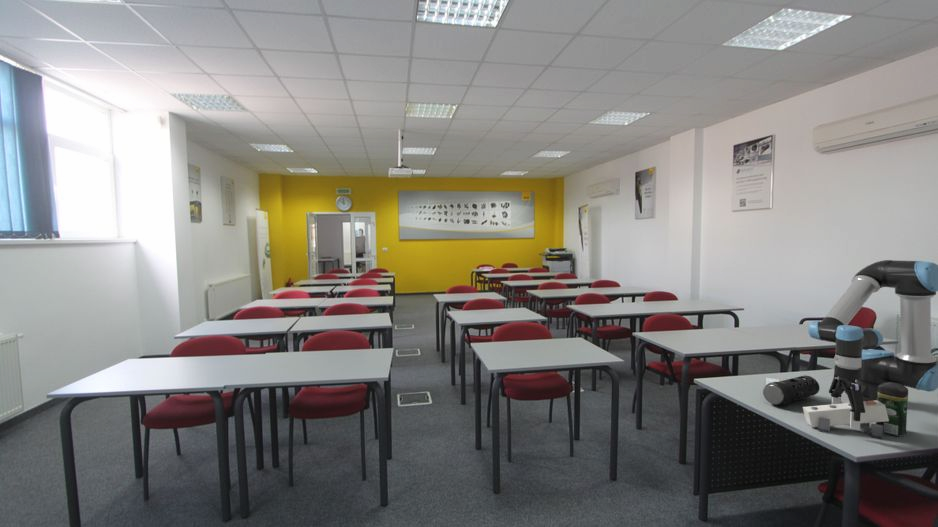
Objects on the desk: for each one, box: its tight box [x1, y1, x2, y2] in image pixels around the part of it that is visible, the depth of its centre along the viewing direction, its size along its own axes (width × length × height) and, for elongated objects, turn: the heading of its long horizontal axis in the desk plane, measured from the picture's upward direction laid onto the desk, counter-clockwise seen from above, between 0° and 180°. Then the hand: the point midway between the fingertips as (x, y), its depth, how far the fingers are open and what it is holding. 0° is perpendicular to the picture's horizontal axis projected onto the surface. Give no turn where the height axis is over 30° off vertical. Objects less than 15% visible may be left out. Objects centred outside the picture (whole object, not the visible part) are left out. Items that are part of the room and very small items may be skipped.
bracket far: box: [814, 418, 831, 434], centre depth 164 cm, size 3×9×5 cm, turn 162°
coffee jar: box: [875, 382, 909, 437], centre depth 159 cm, size 10×8×19 cm
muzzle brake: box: [762, 375, 820, 406], centre depth 189 cm, size 10×28×10 cm, turn 115°
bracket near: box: [859, 423, 884, 440], centre depth 159 cm, size 3×9×5 cm, turn 162°
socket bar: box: [802, 400, 889, 428], centre depth 161 cm, size 24×5×7 cm, turn 72°
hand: (844, 420), depth 161 cm, fingers open, 13 cm apart
